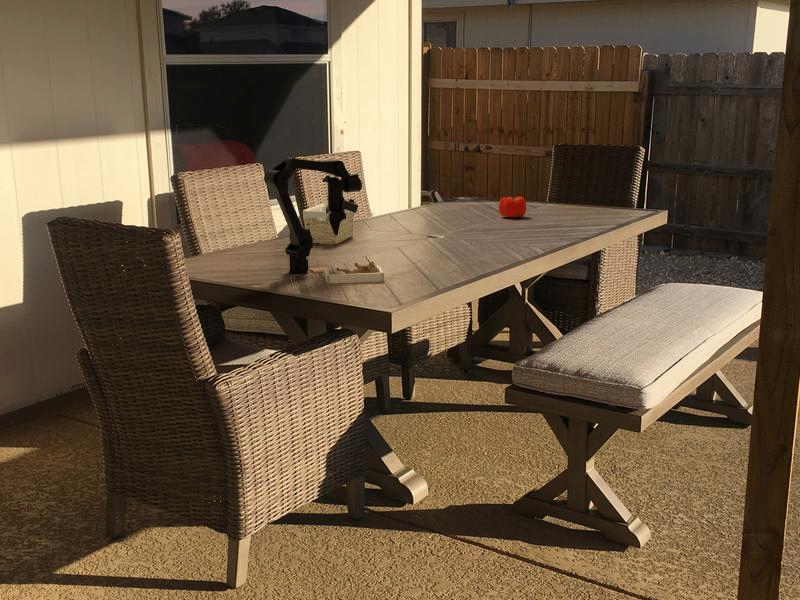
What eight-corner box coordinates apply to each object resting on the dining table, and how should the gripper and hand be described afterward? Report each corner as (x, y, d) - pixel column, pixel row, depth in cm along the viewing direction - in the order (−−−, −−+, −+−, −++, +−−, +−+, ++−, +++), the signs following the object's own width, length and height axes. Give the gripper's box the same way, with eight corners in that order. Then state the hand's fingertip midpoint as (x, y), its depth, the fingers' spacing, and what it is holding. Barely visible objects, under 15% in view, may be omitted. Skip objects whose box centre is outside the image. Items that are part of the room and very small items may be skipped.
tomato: (526, 215, 491) (526, 195, 489) (525, 219, 479) (526, 198, 476) (499, 215, 493) (499, 195, 491) (498, 219, 480) (498, 198, 478)
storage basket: (337, 245, 411) (336, 211, 407) (301, 244, 416) (300, 209, 412) (356, 236, 433) (355, 203, 430) (322, 235, 438) (322, 202, 434)
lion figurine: (364, 255, 351) (378, 262, 344) (366, 268, 353) (380, 275, 346) (330, 269, 344) (344, 276, 337) (333, 282, 346) (346, 290, 339)
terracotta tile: (314, 274, 355) (314, 271, 354) (309, 271, 360) (309, 268, 360) (330, 273, 357) (329, 269, 356) (324, 270, 362) (324, 266, 362)
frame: (327, 283, 336) (326, 275, 336) (324, 275, 350) (323, 267, 349) (384, 281, 339) (384, 273, 338) (378, 273, 353) (378, 265, 352)
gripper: (359, 196, 352) (360, 238, 355) (354, 190, 370) (354, 230, 373) (329, 197, 350) (330, 239, 354) (325, 191, 368) (326, 231, 372)
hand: (336, 235), depth 363 cm, fingers closed
